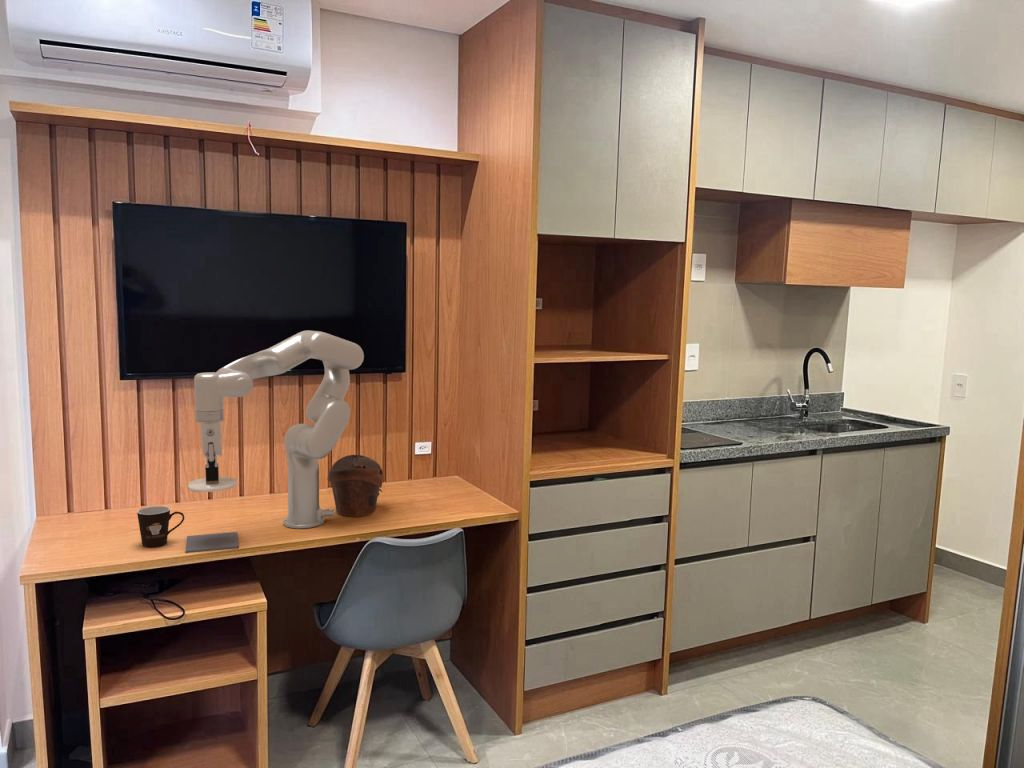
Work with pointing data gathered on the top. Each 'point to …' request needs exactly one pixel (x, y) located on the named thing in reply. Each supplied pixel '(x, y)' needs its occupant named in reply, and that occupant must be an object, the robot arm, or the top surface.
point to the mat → (212, 542)
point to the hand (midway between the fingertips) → (212, 478)
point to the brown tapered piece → (355, 485)
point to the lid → (212, 484)
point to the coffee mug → (155, 525)
